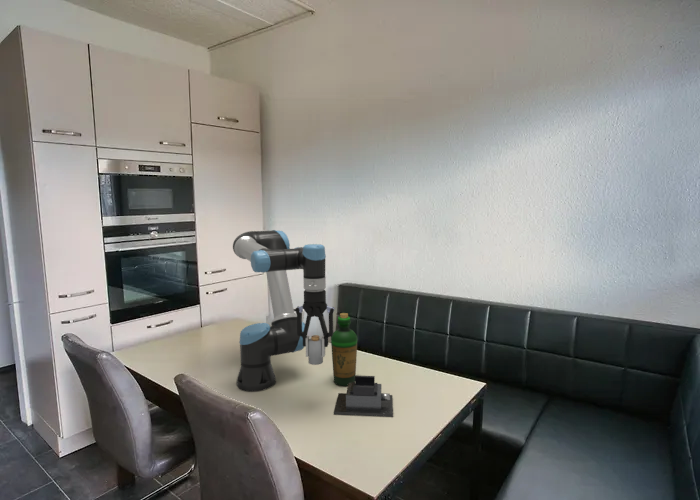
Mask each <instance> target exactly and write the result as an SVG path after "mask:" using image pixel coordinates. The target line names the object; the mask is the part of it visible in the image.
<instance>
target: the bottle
mask: <svg viewBox="0 0 700 500" xmlns="http://www.w3.org/2000/svg"><path fill="white" fill-rule="evenodd" d="M336 323H337V324H338V329H335V331H333V336H332V337H330V347H331V358H332V371H333V373H332V374H333V382H334V384H335V385H338V386H343V387H348V383H352V382H355V375H356V374H357V373H356V372H357V356H358V355H357V354H358V338H359V337H358V335H357V334H356V332H355V331H354V330H353V329H351V328H350V325H351V323H352V321H351V317H350V316H349V313H348V312H347V313H346V312H342V313H339V316H338V317H337V321H336Z"/></svg>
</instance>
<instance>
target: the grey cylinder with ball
mask: <svg viewBox="0 0 700 500" xmlns="http://www.w3.org/2000/svg"><path fill="white" fill-rule="evenodd" d="M307 358H308V364H309V365H312V366H318V365H321V364H323V362H324V357H322V337H320V335H318V334H317V335H316V334H313V335H311V337H309V340H308V357H307Z"/></svg>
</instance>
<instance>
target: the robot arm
mask: <svg viewBox="0 0 700 500" xmlns="http://www.w3.org/2000/svg"><path fill="white" fill-rule="evenodd" d="M290 247H291V245H290V240H289V238H288V235H287V234H286V232H284V231H283V230H275V229H273V230H256V231H255V230H254V231H253V230H251V231H245V232H243V233H240V234H239V235H238V236H236V238H235V239H234V240H233V243H232V250H233V252H234V254H235V255H236V256H237V257H238V258H239V259H241V260H247V261H249V262H250V266H251V269H252V272H254V273H262V274H263V273H265V274H266V279H267V286H268V290H269V296H270V302H271V307H272V308H271V309H272V314H273V319H272V321H271V322H270V324H271V325H270V324H269V323H266V322H262V323H261V322H257V323H252V324H250V325H247V326H245V327H243V328H242V330H241V331H240V333H239V342H238V343H239V346H240V347H239V352H240V353H239V354H240V368H239V371H238V375H237V378H236V387H237V389H239V390H241V391H244V392H260V391H265V390H268V389H270V388H272V387H273V386H274V385H275V384H276V383H277V381H276V379H277V378H276V374H275V371H274V368H273V366H272V359H271V357H272V356H278V355H284V354H285V355H286V354H290V353H295V352H300V351H302V350H303V349H304V348H305V357H307V358H308V340H309V339H310V335H308V333H309V328H310V325H311V319H312V318H313V317H316V318H318V321H319V324H320V327H321V332H322V335H323V336H322V337H321V338H322V357H323V358H325V356H326V348H328V345H329V338H331V337H332V336H333V333H334V313H335V312H334V311H335V307H334V306H329V305H328V303H327V295H326V294H327V291H326V287H327V286H326V285H327V283H326V282H327V281H326V278H327V276H326V257H327V256H326V248H325V246H324V245H323V244H320V243H319V244H317V243H315V244H314V243H313V244H311V243H309V244H304V245H303V246H300V247H299V246H298V247H294V248H290ZM293 270H294V271H296V270H302V271H303V272H302V273H303V289H304V290H303V304H302V305H300V306H299V305H298V306H297V307H295V308H296V309H295V311H296V314H297V316H296V315H295V314H294V309H293V308H294V305H293V304H294V303H293V299H292V295H291V289H290V283H289V277H288V273H287V271H293ZM303 309H304V310H305V312H304V313H306V319H305V322H304V321H303V322H302V312H303ZM325 311H327V313H328V328H327V324H326V320H325V316H324V312H325Z"/></svg>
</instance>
